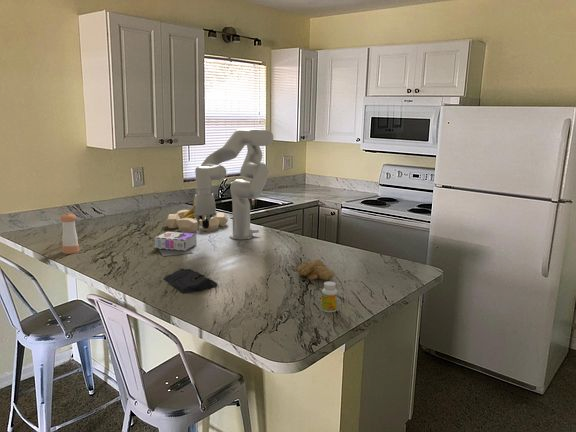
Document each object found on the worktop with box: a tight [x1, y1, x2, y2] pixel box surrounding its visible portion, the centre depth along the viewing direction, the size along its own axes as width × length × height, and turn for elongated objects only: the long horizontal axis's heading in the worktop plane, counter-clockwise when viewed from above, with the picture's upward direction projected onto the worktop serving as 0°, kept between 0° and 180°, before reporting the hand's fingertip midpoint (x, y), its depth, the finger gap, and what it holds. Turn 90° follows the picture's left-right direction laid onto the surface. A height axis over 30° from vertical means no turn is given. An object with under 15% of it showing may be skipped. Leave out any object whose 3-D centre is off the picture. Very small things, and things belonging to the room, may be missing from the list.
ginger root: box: [293, 258, 335, 281], centre depth 201 cm, size 16×16×8 cm
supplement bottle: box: [320, 281, 338, 313], centre depth 167 cm, size 5×5×10 cm
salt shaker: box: [59, 212, 80, 255], centre depth 230 cm, size 7×7×19 cm
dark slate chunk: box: [163, 268, 219, 294], centre depth 192 cm, size 15×22×5 cm
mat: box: [157, 248, 193, 257], centre depth 235 cm, size 14×14×1 cm
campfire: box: [164, 199, 229, 233], centre depth 285 cm, size 35×34×17 cm
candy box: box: [154, 231, 198, 251], centre depth 241 cm, size 14×6×16 cm
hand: (205, 227), depth 240 cm, fingers closed
